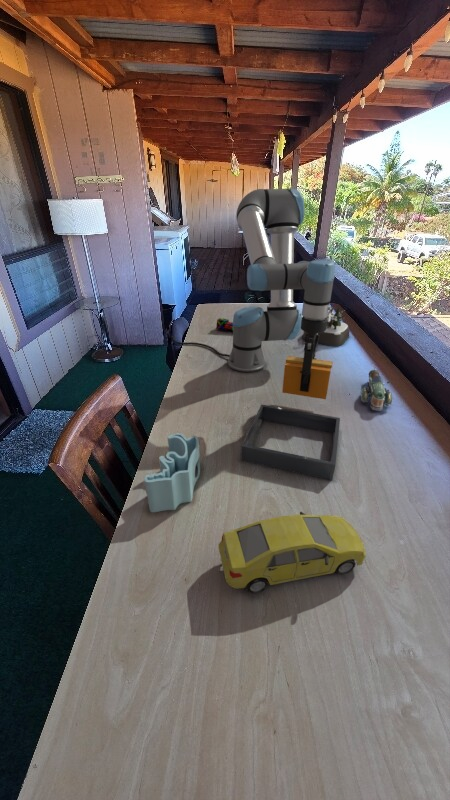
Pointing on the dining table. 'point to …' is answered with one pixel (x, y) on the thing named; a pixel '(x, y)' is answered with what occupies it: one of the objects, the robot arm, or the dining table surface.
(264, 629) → the dining table surface
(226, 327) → the sculpture
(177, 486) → the squiggly pen holder
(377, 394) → the hoverbike
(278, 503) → the dining table surface
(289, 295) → the robot arm
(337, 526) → the toy car
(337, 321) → the miniature diorama
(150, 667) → the dining table surface
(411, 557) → the dining table surface
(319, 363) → the orange striped block
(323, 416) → the rectangular frame
